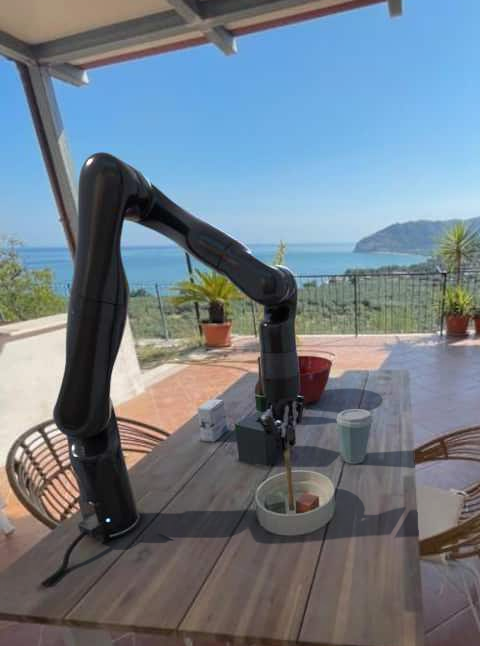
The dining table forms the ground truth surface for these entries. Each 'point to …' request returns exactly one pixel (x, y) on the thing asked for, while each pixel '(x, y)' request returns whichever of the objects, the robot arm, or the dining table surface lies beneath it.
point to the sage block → (275, 503)
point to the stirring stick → (289, 465)
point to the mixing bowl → (313, 376)
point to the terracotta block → (306, 503)
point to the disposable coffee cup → (354, 434)
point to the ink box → (212, 420)
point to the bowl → (291, 520)
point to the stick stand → (255, 442)
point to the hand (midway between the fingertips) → (286, 447)
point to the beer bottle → (260, 393)
